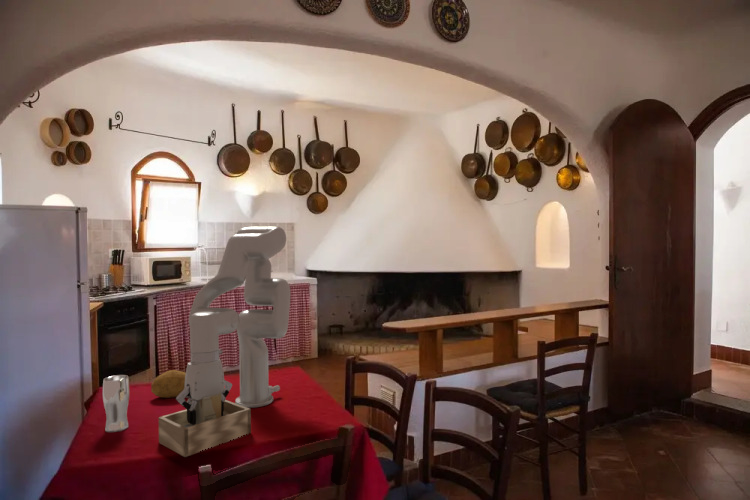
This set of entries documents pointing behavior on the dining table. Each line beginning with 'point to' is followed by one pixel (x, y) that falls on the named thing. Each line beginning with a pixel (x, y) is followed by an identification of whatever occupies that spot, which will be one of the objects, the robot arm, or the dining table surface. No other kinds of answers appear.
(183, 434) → the insert box
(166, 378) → the potato
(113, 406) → the beer glass
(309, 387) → the dining table surface
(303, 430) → the dining table surface
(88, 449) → the dining table surface
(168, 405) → the dining table surface
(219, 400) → the skincare box
